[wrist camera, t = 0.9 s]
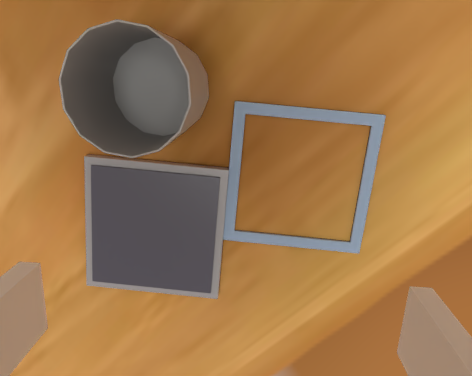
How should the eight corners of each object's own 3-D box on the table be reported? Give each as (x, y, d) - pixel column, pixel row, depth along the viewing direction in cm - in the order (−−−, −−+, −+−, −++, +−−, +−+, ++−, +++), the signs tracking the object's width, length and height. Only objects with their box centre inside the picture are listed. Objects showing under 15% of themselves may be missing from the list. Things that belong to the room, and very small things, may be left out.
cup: (131, 145, 36) (86, 170, 26) (100, 53, 34) (38, 43, 24) (220, 121, 35) (207, 138, 25) (194, 25, 33) (168, 3, 23)
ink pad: (88, 154, 36) (82, 157, 35) (229, 167, 36) (228, 171, 34) (90, 280, 40) (85, 286, 38) (218, 293, 39) (217, 300, 38)
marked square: (235, 100, 34) (234, 101, 34) (384, 114, 34) (385, 115, 34) (223, 238, 38) (223, 239, 37) (358, 252, 37) (359, 253, 37)
